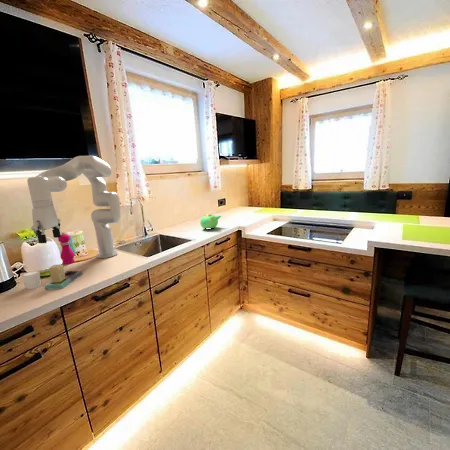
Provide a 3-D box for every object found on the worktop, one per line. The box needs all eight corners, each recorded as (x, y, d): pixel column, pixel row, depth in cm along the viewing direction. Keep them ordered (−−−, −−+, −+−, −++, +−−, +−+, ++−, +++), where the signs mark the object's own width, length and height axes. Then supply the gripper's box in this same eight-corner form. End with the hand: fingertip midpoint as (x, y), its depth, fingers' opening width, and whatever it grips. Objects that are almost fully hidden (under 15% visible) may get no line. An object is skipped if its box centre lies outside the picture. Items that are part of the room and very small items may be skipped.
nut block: (58, 283, 117) (54, 264, 115) (66, 282, 117) (62, 264, 115) (52, 287, 113) (48, 267, 111) (61, 286, 114) (57, 267, 111)
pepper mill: (77, 260, 150) (71, 230, 146) (72, 264, 143) (66, 232, 139) (65, 261, 149) (59, 231, 145) (59, 265, 142) (53, 233, 138)
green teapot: (207, 226, 232) (206, 212, 229) (222, 227, 225) (221, 212, 222) (197, 230, 216) (196, 215, 213) (213, 232, 209) (212, 215, 206)
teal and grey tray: (67, 274, 128) (67, 271, 127) (82, 273, 128) (81, 270, 128) (45, 289, 111) (44, 285, 111) (62, 288, 112) (61, 284, 111)
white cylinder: (22, 288, 114) (18, 274, 112) (38, 282, 119) (35, 269, 118) (27, 291, 110) (24, 277, 109) (44, 285, 116) (41, 272, 114)
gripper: (47, 202, 115) (54, 235, 119) (19, 207, 98) (28, 246, 102) (63, 201, 115) (69, 235, 119) (37, 206, 98) (45, 245, 102)
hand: (50, 240), depth 111 cm, fingers open, 9 cm apart
